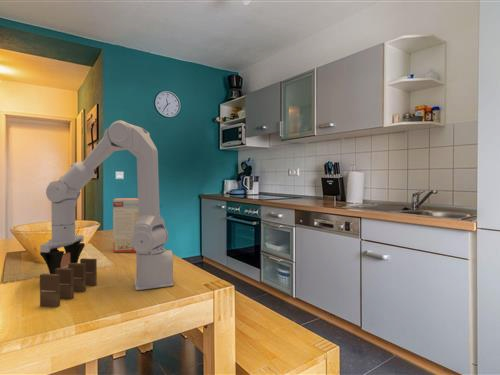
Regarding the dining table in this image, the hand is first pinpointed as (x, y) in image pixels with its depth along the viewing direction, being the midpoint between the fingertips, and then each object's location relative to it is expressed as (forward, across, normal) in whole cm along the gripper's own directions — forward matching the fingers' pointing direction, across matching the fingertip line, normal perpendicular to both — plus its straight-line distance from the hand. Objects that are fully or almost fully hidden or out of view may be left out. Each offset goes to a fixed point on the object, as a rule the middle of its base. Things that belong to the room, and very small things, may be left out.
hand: (63, 272), depth 86 cm
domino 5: (+2, +4, +10) cm, 11 cm away
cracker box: (+2, -34, +3) cm, 35 cm away
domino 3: (+2, +13, +10) cm, 16 cm away
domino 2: (+2, 0, 0) cm, 2 cm away
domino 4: (+2, +8, +10) cm, 13 cm away
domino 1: (+2, +17, +10) cm, 20 cm away
